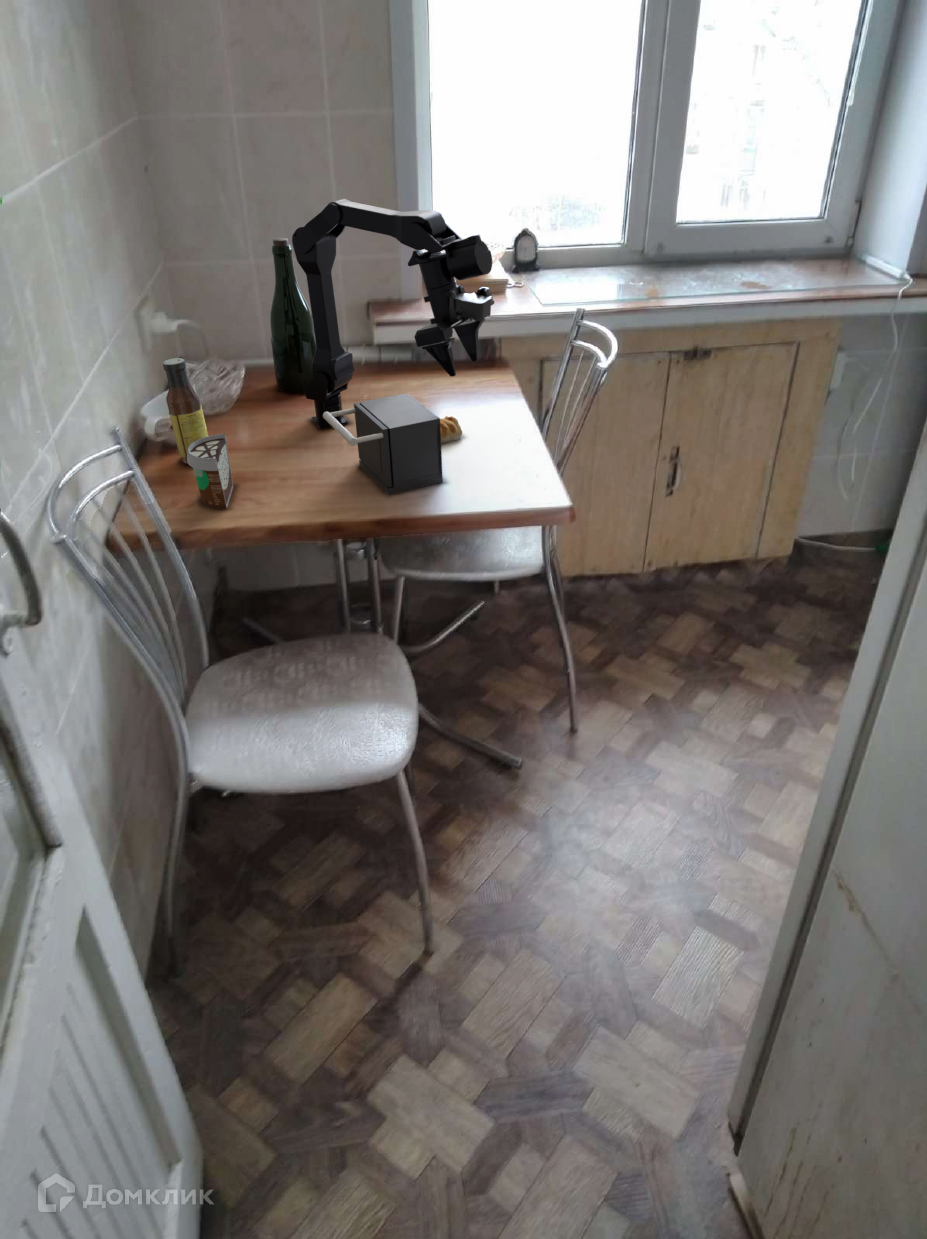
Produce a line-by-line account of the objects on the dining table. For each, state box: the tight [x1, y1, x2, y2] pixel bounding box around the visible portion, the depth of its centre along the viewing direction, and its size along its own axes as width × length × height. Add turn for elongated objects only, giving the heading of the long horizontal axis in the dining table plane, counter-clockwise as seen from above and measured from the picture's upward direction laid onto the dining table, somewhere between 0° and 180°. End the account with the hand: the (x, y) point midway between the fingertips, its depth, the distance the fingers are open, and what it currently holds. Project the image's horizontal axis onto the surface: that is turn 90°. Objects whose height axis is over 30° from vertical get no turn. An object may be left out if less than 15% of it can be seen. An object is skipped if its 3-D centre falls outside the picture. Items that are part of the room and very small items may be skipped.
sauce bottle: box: [162, 357, 209, 465], centre depth 174 cm, size 6×6×20 cm
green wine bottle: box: [268, 237, 316, 394], centre depth 205 cm, size 10×10×33 cm
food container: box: [187, 433, 234, 510], centre depth 162 cm, size 12×6×10 cm, turn 5°
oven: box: [358, 392, 444, 496], centre depth 168 cm, size 11×15×12 cm
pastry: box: [440, 416, 463, 444], centre depth 185 cm, size 9×7×4 cm
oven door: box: [323, 402, 392, 487], centre depth 165 cm, size 7×15×11 cm, turn 26°
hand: (464, 368), depth 173 cm, fingers open, 9 cm apart
